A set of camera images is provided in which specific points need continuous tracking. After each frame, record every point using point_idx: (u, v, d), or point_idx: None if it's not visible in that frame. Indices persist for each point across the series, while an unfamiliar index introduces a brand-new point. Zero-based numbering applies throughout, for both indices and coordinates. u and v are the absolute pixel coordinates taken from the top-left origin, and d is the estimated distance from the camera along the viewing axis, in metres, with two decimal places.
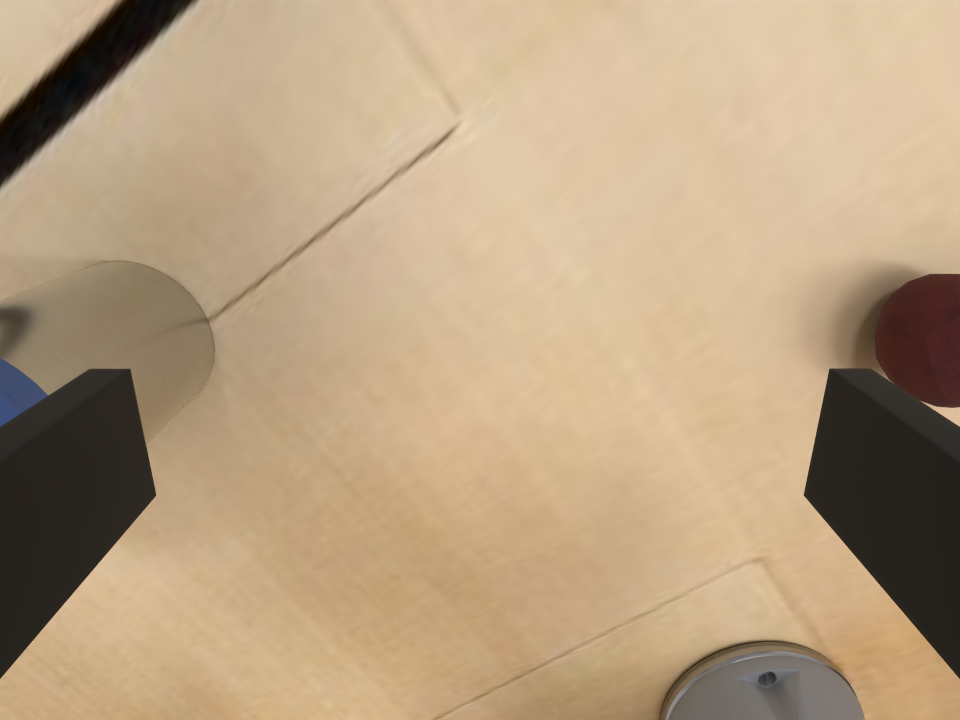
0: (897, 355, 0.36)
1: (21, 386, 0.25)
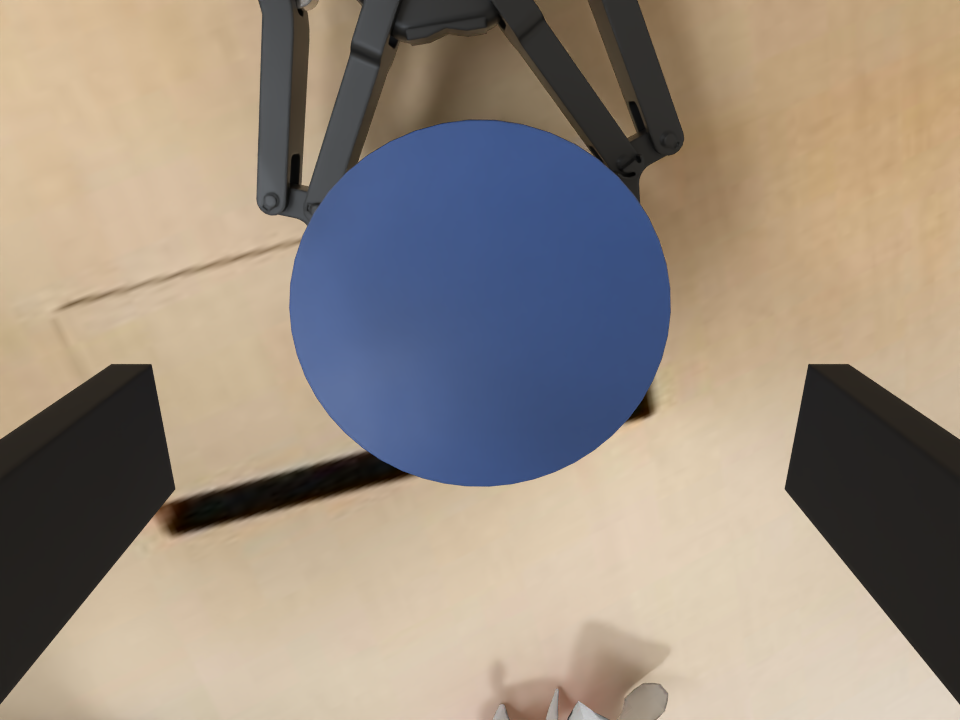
0: None
1: None
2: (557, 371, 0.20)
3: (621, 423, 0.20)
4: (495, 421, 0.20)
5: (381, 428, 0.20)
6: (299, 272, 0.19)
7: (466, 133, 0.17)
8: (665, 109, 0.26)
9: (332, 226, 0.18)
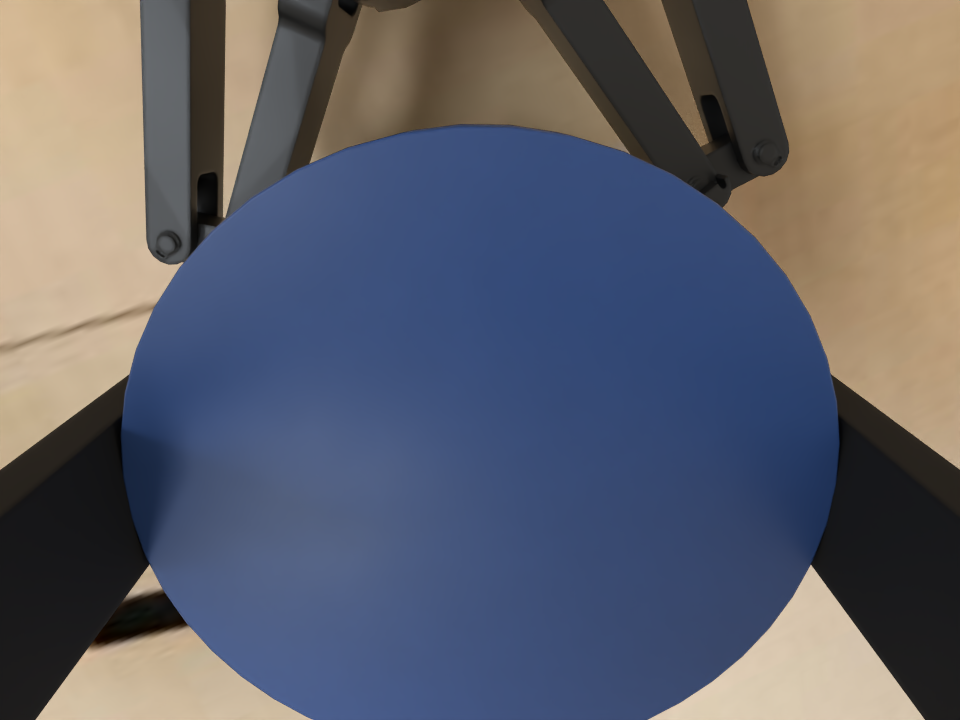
0: None
1: None
2: (620, 581, 0.11)
3: (731, 662, 0.11)
4: (507, 659, 0.11)
5: (305, 670, 0.12)
6: (135, 415, 0.10)
7: (452, 153, 0.08)
8: (763, 107, 0.17)
9: (191, 333, 0.09)
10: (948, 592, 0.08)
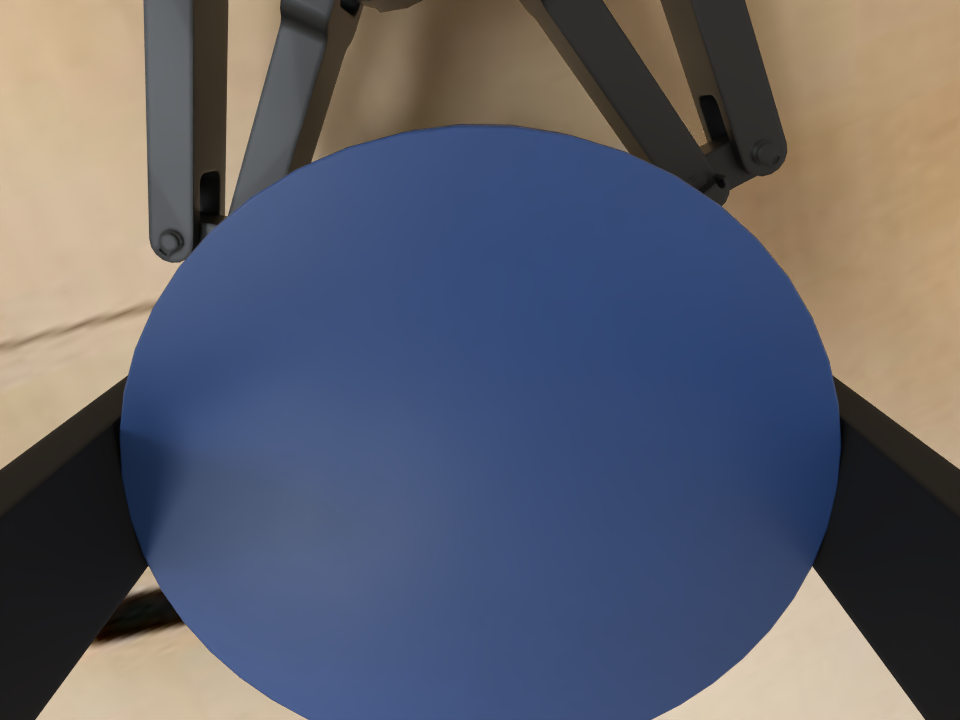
0: None
1: None
2: (637, 413, 0.10)
3: (814, 334, 0.09)
4: (675, 546, 0.11)
5: (591, 702, 0.12)
6: (292, 702, 0.12)
7: (143, 404, 0.10)
8: (761, 107, 0.17)
9: (237, 638, 0.11)
10: (948, 592, 0.08)
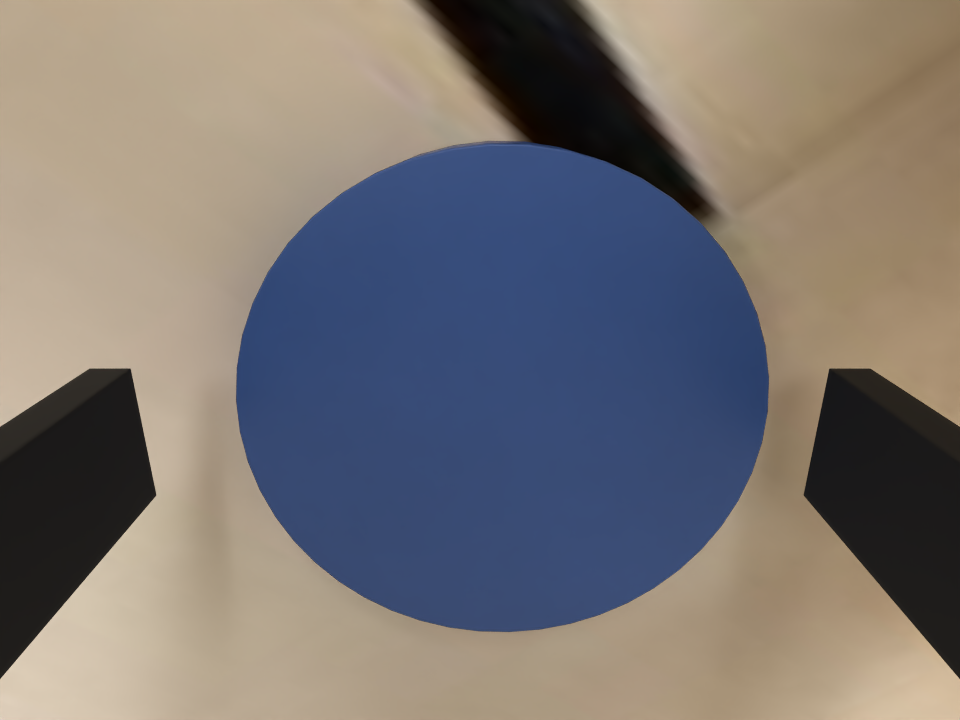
0: None
1: None
2: (616, 352, 0.13)
3: (744, 293, 0.13)
4: (647, 456, 0.14)
5: (585, 585, 0.15)
6: (354, 583, 0.15)
7: (256, 345, 0.13)
8: None
9: (315, 529, 0.15)
10: None
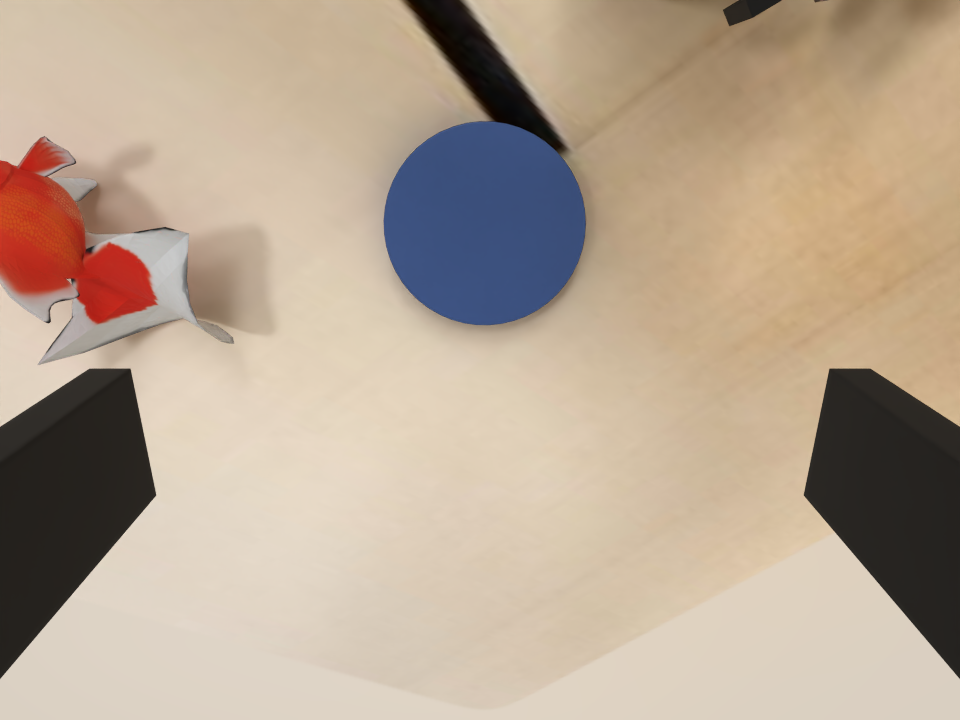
0: None
1: None
2: (527, 200, 0.35)
3: (572, 176, 0.35)
4: (541, 243, 0.36)
5: (519, 302, 0.38)
6: (425, 302, 0.38)
7: (393, 197, 0.35)
8: None
9: (411, 277, 0.37)
10: None
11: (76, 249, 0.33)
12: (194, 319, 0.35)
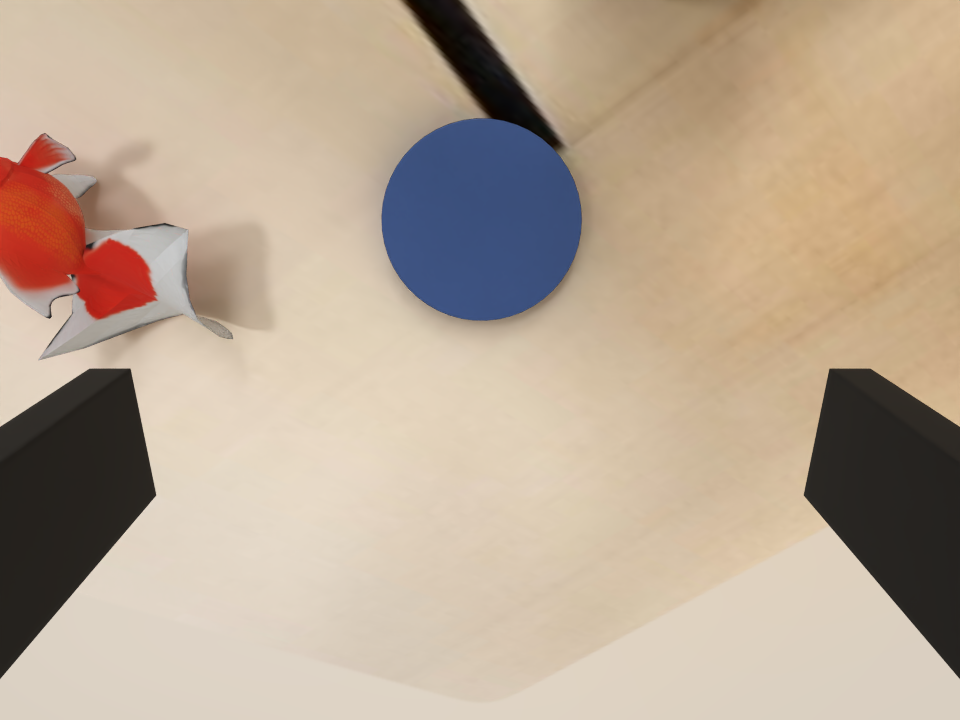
0: None
1: None
2: (524, 196, 0.36)
3: (568, 173, 0.35)
4: (537, 239, 0.37)
5: (516, 297, 0.38)
6: (423, 297, 0.38)
7: (391, 194, 0.36)
8: None
9: (408, 272, 0.37)
10: None
11: (76, 245, 0.33)
12: (194, 314, 0.35)
